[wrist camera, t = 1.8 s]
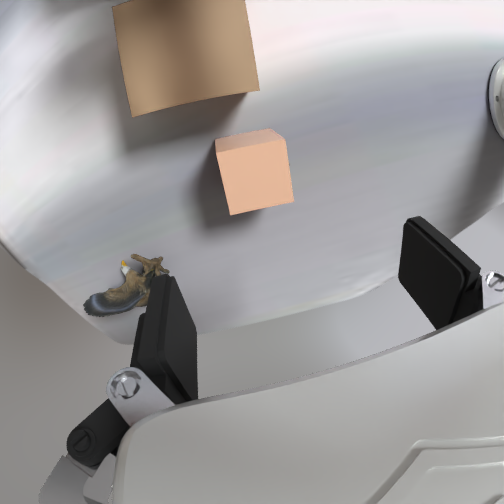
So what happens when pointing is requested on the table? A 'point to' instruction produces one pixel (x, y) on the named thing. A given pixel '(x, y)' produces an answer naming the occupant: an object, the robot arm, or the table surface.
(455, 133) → the table surface
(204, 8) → the walnut block
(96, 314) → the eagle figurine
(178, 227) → the table surface
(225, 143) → the peach block
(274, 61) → the table surface
